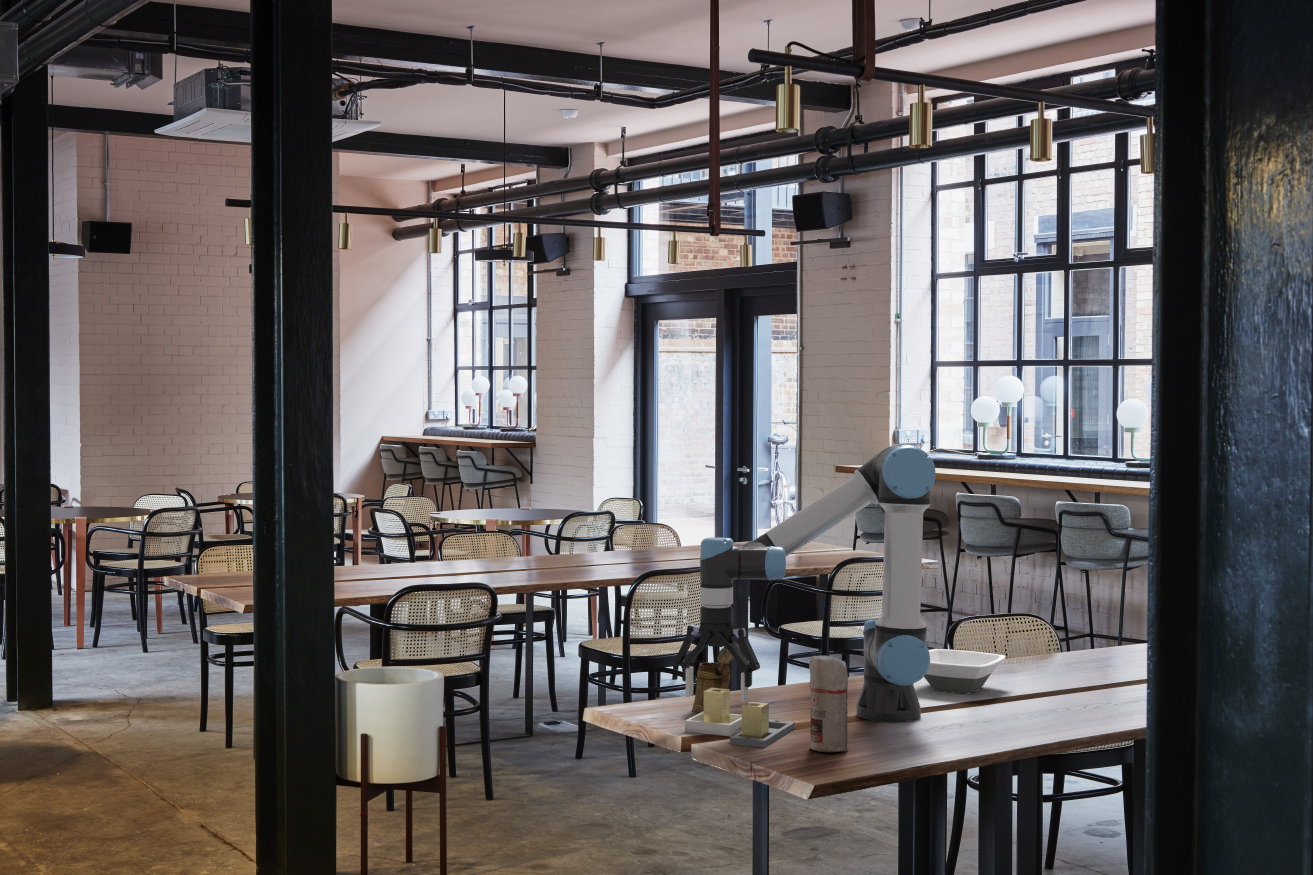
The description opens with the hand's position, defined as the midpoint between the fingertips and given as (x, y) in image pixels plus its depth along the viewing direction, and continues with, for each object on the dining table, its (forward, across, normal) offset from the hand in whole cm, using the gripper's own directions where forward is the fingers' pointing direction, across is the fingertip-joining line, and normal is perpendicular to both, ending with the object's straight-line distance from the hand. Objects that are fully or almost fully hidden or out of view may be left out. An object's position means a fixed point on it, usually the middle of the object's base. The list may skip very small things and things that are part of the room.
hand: (716, 698), depth 291 cm
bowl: (+7, -40, -70) cm, 81 cm away
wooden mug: (+7, +7, -17) cm, 20 cm away
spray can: (+7, -29, +8) cm, 31 cm away
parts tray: (+7, 0, 0) cm, 7 cm away
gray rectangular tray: (+7, -12, +2) cm, 14 cm away
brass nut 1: (+6, 0, 0) cm, 6 cm away
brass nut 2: (+7, -12, +7) cm, 16 cm away
